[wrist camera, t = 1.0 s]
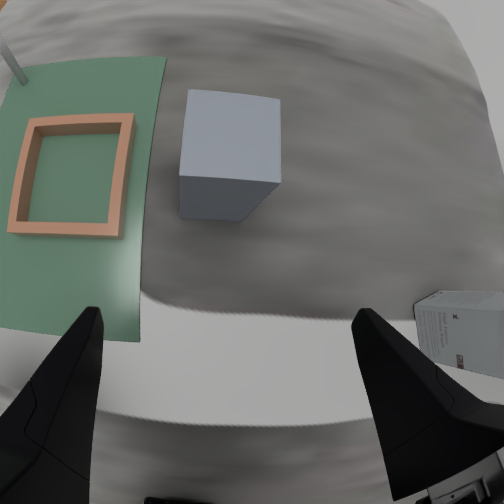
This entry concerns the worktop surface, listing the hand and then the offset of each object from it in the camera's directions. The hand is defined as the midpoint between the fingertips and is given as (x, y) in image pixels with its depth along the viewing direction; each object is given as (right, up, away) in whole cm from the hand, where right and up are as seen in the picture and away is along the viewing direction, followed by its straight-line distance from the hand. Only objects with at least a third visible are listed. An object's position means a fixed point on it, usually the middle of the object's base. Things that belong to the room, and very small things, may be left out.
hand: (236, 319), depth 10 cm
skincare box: (+18, -5, +17) cm, 26 cm away
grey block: (-2, +7, +14) cm, 15 cm away
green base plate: (-15, +8, +11) cm, 21 cm away
